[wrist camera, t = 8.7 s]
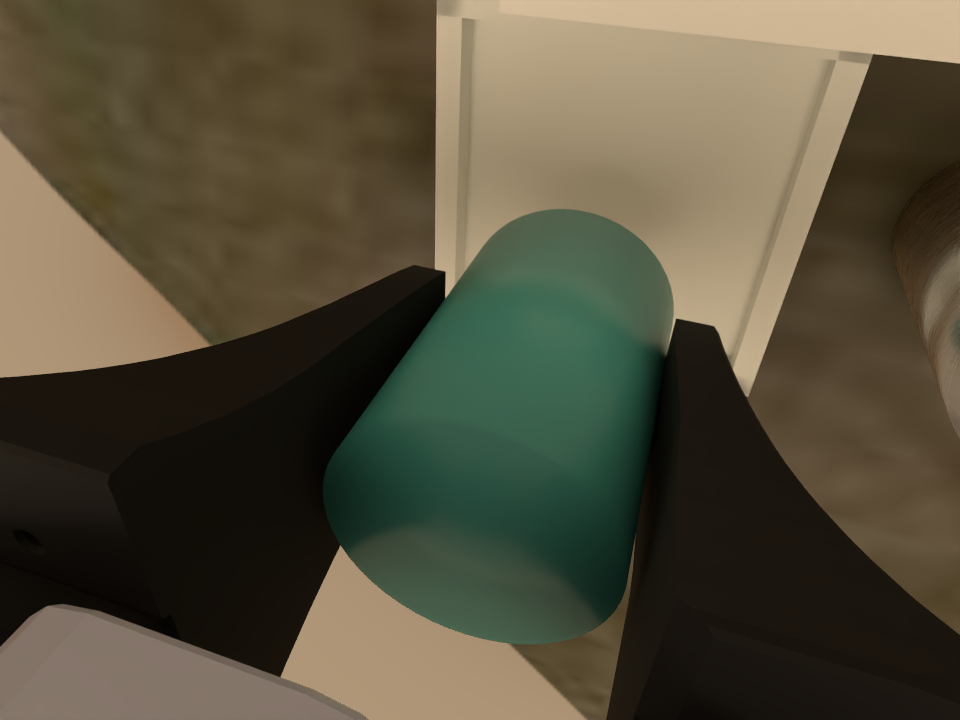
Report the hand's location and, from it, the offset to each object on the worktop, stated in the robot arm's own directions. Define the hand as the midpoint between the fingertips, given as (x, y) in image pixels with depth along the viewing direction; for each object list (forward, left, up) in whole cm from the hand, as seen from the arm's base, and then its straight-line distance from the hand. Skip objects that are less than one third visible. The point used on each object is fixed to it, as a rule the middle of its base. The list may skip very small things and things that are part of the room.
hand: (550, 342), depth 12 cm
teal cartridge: (0, 0, -2) cm, 2 cm away
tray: (0, 0, -7) cm, 7 cm away
